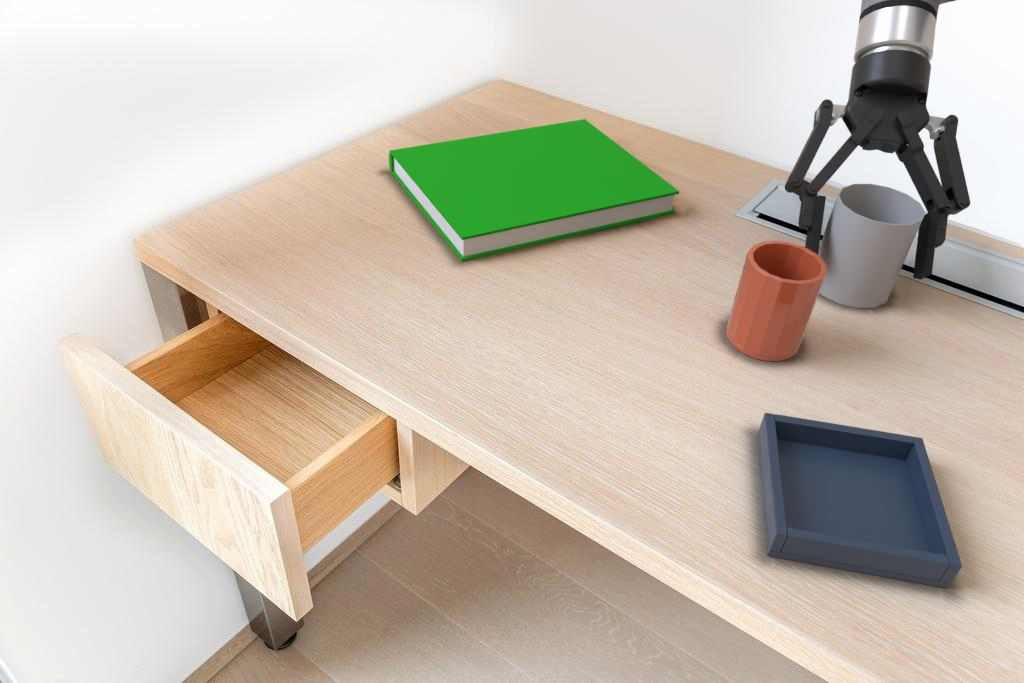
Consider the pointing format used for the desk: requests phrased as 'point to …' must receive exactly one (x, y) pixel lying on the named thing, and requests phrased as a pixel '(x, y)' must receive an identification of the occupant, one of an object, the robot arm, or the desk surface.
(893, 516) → the tray
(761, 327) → the tumbler
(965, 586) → the desk surface
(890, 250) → the cup
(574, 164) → the book
